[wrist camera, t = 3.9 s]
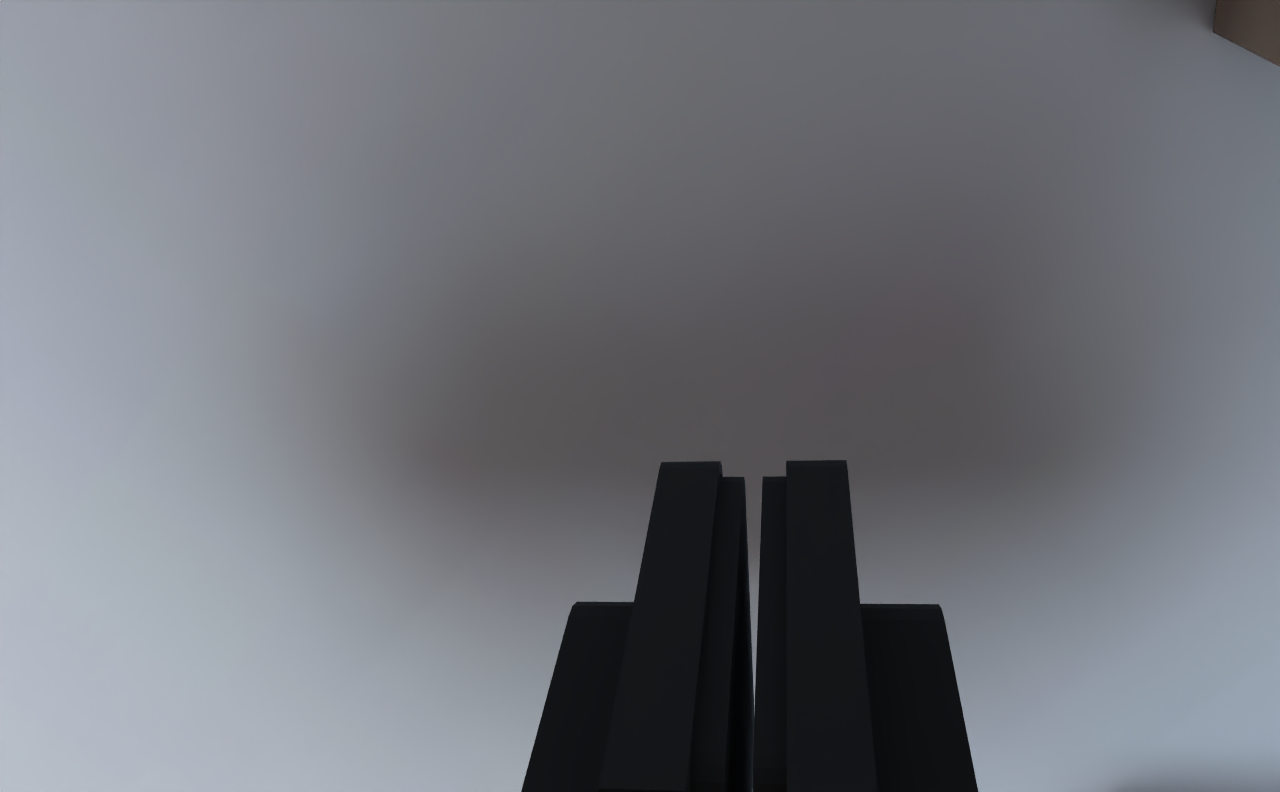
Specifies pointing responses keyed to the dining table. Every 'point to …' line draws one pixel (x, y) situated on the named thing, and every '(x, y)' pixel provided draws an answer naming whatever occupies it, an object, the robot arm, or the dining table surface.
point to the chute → (1251, 26)
